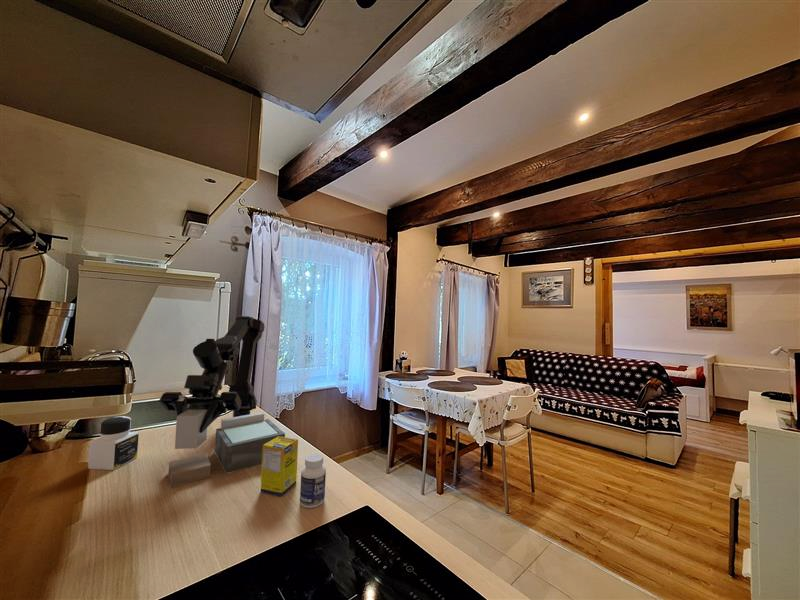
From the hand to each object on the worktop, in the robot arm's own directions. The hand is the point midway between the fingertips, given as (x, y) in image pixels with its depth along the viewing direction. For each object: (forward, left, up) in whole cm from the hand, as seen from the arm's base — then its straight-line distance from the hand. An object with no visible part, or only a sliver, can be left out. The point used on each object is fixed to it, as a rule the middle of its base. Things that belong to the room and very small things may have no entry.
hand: (189, 432), depth 78 cm
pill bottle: (+28, +21, -12) cm, 37 cm away
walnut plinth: (-1, +1, -11) cm, 11 cm away
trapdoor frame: (-4, +16, -11) cm, 20 cm away
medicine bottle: (-20, -14, -12) cm, 27 cm away
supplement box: (+18, +17, -12) cm, 27 cm away
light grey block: (-1, +1, -4) cm, 4 cm away
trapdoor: (-6, +16, -5) cm, 18 cm away
